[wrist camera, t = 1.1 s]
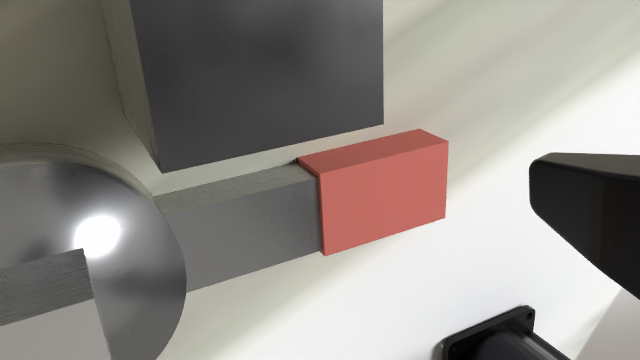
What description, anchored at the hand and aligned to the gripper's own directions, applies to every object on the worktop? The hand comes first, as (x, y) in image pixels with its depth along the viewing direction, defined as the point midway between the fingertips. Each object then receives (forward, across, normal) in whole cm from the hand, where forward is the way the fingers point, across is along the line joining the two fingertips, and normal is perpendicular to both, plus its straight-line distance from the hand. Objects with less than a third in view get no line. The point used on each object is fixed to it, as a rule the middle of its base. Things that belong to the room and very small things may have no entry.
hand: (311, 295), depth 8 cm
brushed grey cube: (+12, -3, -3) cm, 13 cm away
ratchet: (+12, 0, +5) cm, 13 cm away
